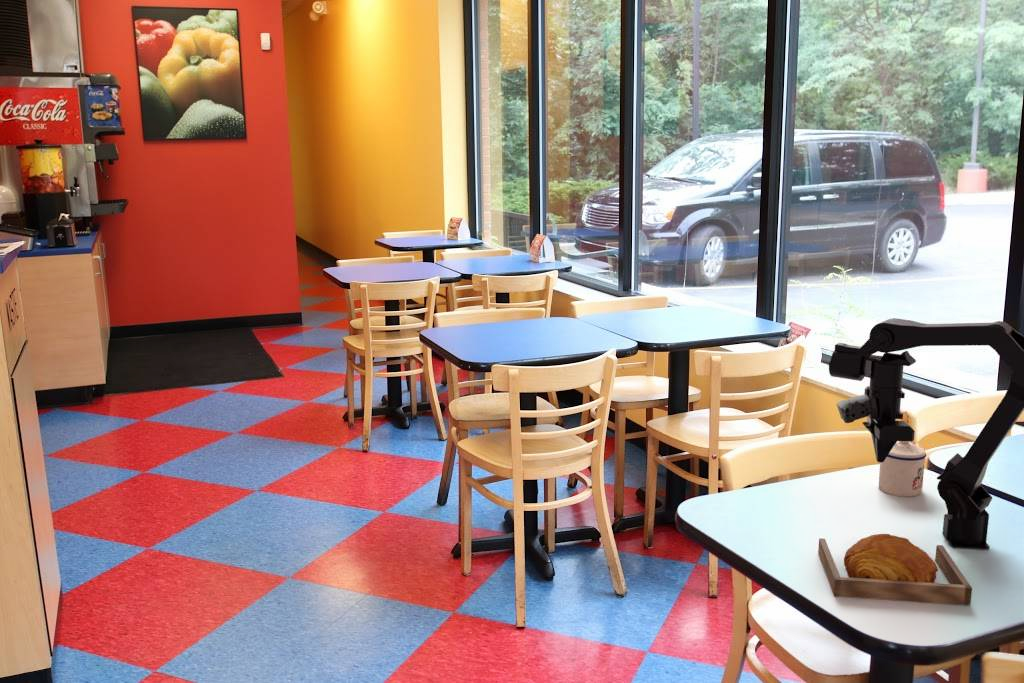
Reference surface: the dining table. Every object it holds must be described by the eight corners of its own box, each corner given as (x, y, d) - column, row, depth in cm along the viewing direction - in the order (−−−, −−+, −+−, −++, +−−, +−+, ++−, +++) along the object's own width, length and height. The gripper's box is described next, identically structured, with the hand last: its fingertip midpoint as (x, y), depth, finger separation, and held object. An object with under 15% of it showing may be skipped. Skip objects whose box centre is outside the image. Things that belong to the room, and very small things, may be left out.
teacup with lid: (921, 500, 186) (926, 447, 184) (874, 493, 190) (878, 441, 188) (925, 481, 196) (929, 431, 194) (880, 475, 201) (884, 425, 198)
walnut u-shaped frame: (941, 560, 159) (942, 545, 158) (970, 605, 144) (972, 588, 143) (818, 553, 162) (819, 538, 162) (833, 596, 147) (835, 579, 146)
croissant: (829, 590, 154) (827, 549, 151) (872, 551, 163) (871, 512, 161) (913, 619, 143) (913, 576, 141) (953, 575, 153) (954, 534, 151)
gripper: (831, 372, 181) (826, 445, 185) (854, 397, 163) (849, 477, 166) (888, 373, 180) (882, 446, 183) (918, 398, 162) (911, 479, 165)
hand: (879, 461), depth 175 cm, fingers closed
